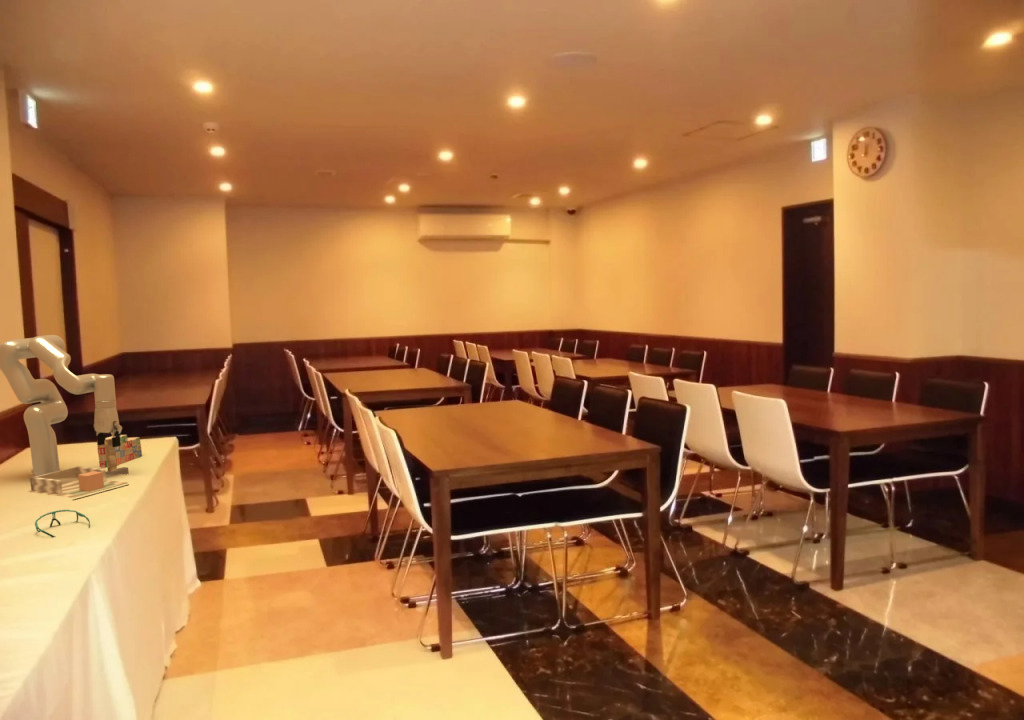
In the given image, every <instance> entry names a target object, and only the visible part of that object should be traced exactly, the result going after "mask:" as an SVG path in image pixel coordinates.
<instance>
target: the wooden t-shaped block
mask: <svg viewBox="0 0 1024 720" xmlns="http://www.w3.org/2000/svg"><path fill="white" fill-rule="evenodd" d="M104 441H105V450H106V459H107V467H106V468H107V470H105V473H106V479H107V478H112V477H115V476H116V477H117V476H119V475H122V476H123V475H126V476H128V475H129V467H128V466H127V467H126V466H122V467H118V465H117V466H116V456H115V447H113V446H112V439H108V440H104ZM127 474H128V475H127Z"/></svg>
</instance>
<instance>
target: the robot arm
mask: <svg viewBox="0 0 1024 720" xmlns="http://www.w3.org/2000/svg"><path fill="white" fill-rule="evenodd" d="M65 349H66V343H65V340H63V338H62V337H60V336H59V335H56V334H46V335H38V336H34V337H28V338H27V337H26V338H15V339H8V340H5V341H2V342H1V343H0V371H1V372H2V374H3V376H5V378H6V379H7V382H8V384H9V386H10V388H11V389H12V392H13V393H14V396H15V397H16V399H17V400H18V401H19V402H20V403H21V404H24V405H28V404H29V405H30V404H33V405H30V406H28V407H27V408H26V409H25V411H24V413H23V421H24V424H25V426H26V429H27V434H28V441H29V447H30V456H31V464H32V465H31V466H32V469H31V471H30V472H31V473H32V474H33V475H32V476H30V478H32V477H36V476H40V475H44V474H48V473H53V472H57V471H61V468H60V460H59V452H58V451H59V449H58V444H57V442H58V441H57V436H56V431H54V429H53V427H52V425H55V424H58V423H61V422H63V421H65V420H66V419H67V417H68V413H69V411H68V406H67V405H66V402H65V401H64V399H63V397H62V395H61V393H60V391H59V389H58V388H57V386H56V385H55V383H53V382H52V381H51V380H50V379H47V378H37V379H35V378H34V377H33V375H32V374H31V371H30V370H29V369H28V367H27V366H26V365H24V364H23V363H22V362H21V361H19V360H25V359H26V360H27V359H33V358H37V359H38V360H40V361H41V363H43V364H44V365H46V366H47V367H48V368H50V369H51V370H52V374H53V378H54V379H55V381H56V383H57V384H58V385H59V386H60V387H62V389H64V390H65V391H66V392H68V393H70V394H73V395H83V394H87V393H94V405H95V408H94V421H93V422H94V423H93V429H94V432H95V435H96V438H97V439H96V440H97V441H96V443H97V442H98V445H104V444H105V441H104V440H105V438H106V434H111V436H113V438H112V446H113V447H118V446H120V445H121V444H120V436H121V435H122V430H123V426H122V425H120V420H119V414H118V410H117V399H116V387H115V384H116V383H115V377H114V375H113V374H110V373H109V374H108V373H107V374H105V373H102V374H99V373H98V374H97V373H86V374H81V375H80V374H79V375H76V374H74V373H73V372H71V371H70V370H69V369H68V368H67V367H68V366H69V365H70V363H71V360H72V358H71V355H70V354H69V353H67V352H66V351H65ZM39 402H40V403H39ZM34 403H37V404H34ZM30 478H29V479H30Z"/></svg>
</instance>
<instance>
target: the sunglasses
mask: <svg viewBox="0 0 1024 720" xmlns="http://www.w3.org/2000/svg"><path fill="white" fill-rule="evenodd" d="M63 512H72V513H73V512H74V513H75V515H76V520H75V521H73V522H72V521H71V524H72V523H73V524H74V523H78V521H79V517H82V518H85V519H86V520H87V522H88V529H90V528H91V521H90V519H89V518H88V516H86V515H85V514H84V513H82V512H78V511H77V510H70V509H59V510H55V511H54V510H53V511H50V512H47V513H45V514H43V515H41V516H39V518H37V519H36V520H35V521H34V526H35V529H36V532H38V533H39V532H41V533H43V534H45V535H48V537H52V538H56V536H55V535H53V534H52V533H49V532H47V531H45V530H44V529H41V528H40V527H39V525H38V521H39V520H41V519H42V518H44V517H46V516H48V515H52V519H51V521H50V524H49V528H51V527H53V523H54V521H55V522H56V523H57V524H58V525H60V526H61V525H62V523H61V522H60V520H58V519H57V518H56V513H63Z"/></svg>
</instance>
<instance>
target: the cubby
mask: <svg viewBox="0 0 1024 720" xmlns="http://www.w3.org/2000/svg"><path fill="white" fill-rule="evenodd" d="M92 471H96V472H103V481H104V488H100V489H97V490H93V491H81V490H80V489H79V481H78V475H80V474H84V473H88V472H92ZM105 472H106V469H105V468H97V467H86V466H74V467H69V468H65V469H62V470H61V469H60V471H57V472H53V473H48V474H44V475H40V476H36V477H32V476H31V477H32V478H29V481H30V489H31V490H28V491H27V492H28V493H34V494H40V495H41V494H42V495H51V496H56V497H57V496H58V497H62V498H63V497H64V498H69V499H70V498H72V501H78V500H81V499H85V498H87V497H88V498H89V497H92V496H95V495H99V494H103V493H106V492H110V491H114V490H116V489H121V488H124V487H127V486H130V484H128V482H126V481H125V482H124V481H117V480H116V481H115V480H108V479H107V478H106V473H105Z"/></svg>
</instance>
